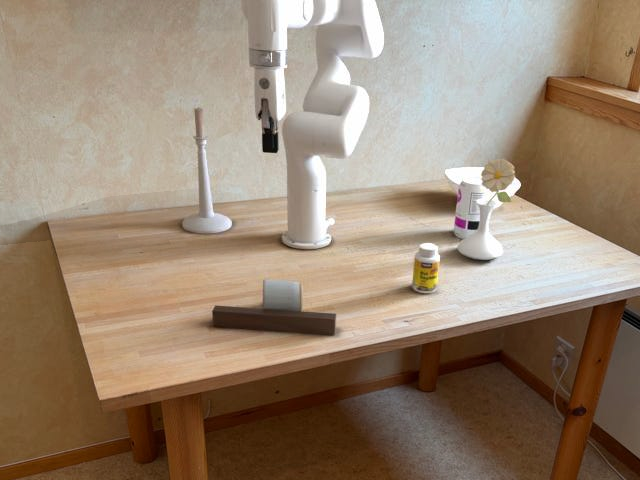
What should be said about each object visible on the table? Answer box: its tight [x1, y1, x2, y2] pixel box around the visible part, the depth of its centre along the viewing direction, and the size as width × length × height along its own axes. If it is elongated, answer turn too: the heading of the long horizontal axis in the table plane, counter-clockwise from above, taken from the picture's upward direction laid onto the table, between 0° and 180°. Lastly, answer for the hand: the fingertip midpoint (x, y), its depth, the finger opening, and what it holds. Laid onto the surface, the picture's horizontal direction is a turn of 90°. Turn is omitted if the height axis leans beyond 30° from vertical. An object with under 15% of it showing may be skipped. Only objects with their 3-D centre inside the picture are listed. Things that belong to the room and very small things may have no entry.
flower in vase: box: [457, 157, 516, 261], centre depth 166 cm, size 13×11×25 cm
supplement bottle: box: [411, 242, 441, 294], centre depth 152 cm, size 6×6×10 cm
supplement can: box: [453, 177, 490, 240], centre depth 181 cm, size 8×8×15 cm
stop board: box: [211, 304, 337, 336], centre depth 135 cm, size 2×24×4 cm, turn 87°
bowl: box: [444, 166, 521, 209], centre depth 205 cm, size 21×21×9 cm
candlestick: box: [181, 106, 233, 235], centre depth 175 cm, size 13×13×30 cm
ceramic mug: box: [262, 278, 304, 311], centre depth 140 cm, size 11×8×8 cm
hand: (270, 151), depth 146 cm, fingers closed
